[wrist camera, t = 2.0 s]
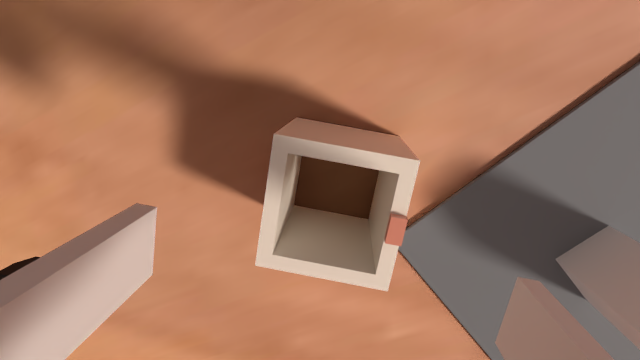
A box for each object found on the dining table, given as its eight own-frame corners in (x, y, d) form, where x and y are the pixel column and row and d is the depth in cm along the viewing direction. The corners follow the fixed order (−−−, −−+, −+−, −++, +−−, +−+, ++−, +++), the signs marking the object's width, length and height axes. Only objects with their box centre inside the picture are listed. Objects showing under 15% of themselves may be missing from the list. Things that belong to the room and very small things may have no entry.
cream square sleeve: (281, 213, 28) (252, 270, 19) (296, 117, 26) (271, 135, 18) (377, 231, 27) (388, 296, 19) (399, 136, 26) (422, 163, 17)
